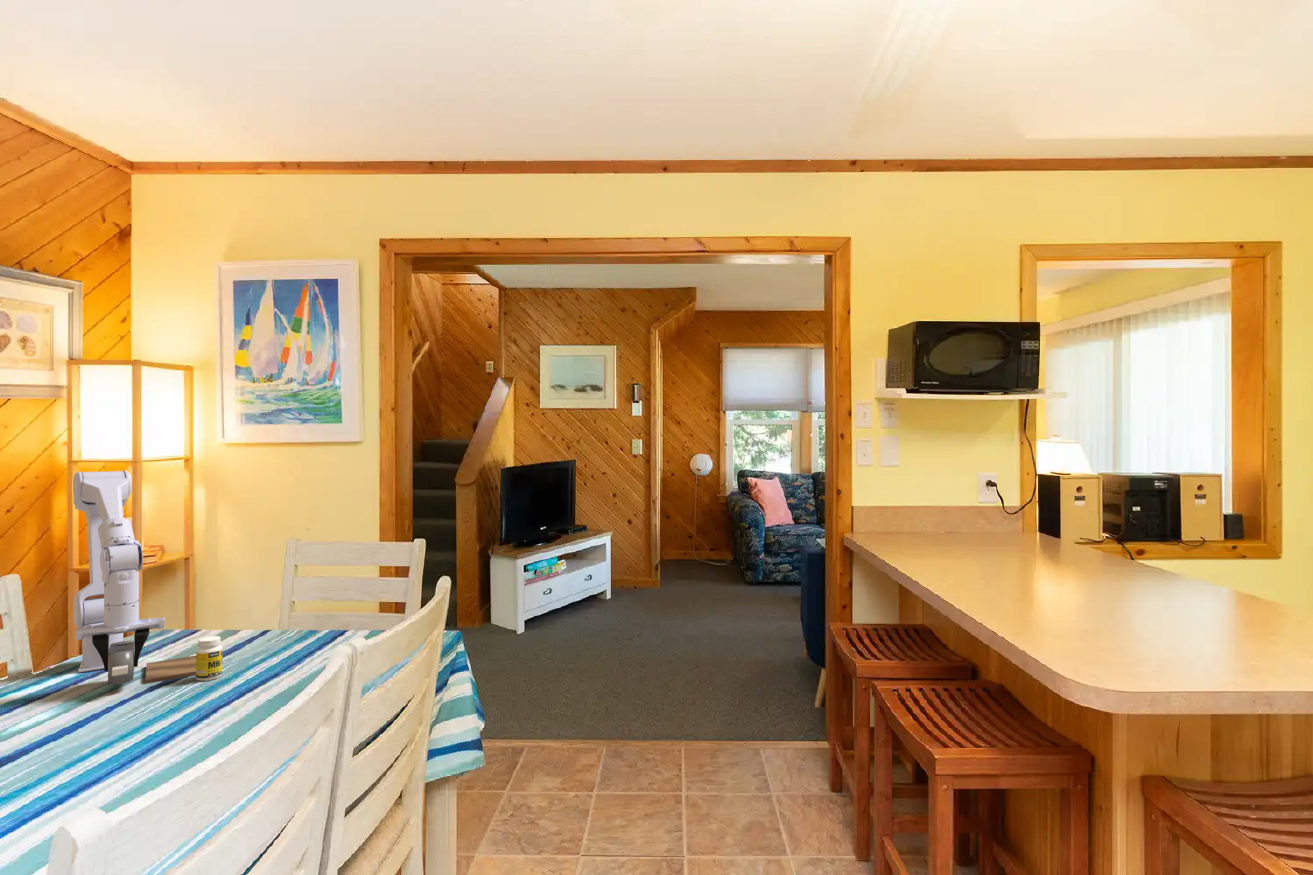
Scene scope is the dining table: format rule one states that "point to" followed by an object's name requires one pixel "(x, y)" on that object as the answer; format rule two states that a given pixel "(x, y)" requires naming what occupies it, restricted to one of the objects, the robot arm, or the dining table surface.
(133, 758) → the dining table surface
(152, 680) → the walnut board
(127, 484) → the robot arm
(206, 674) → the supplement bottle
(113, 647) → the grey rounded piece
